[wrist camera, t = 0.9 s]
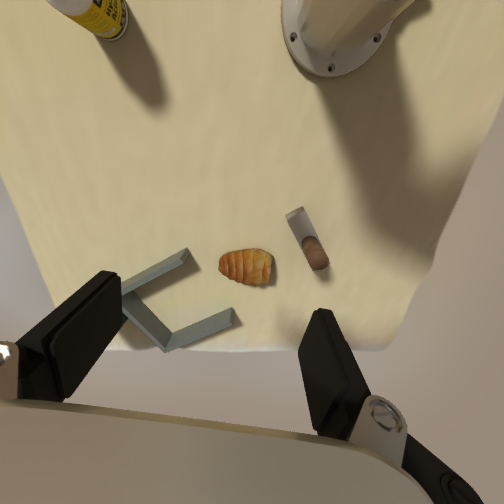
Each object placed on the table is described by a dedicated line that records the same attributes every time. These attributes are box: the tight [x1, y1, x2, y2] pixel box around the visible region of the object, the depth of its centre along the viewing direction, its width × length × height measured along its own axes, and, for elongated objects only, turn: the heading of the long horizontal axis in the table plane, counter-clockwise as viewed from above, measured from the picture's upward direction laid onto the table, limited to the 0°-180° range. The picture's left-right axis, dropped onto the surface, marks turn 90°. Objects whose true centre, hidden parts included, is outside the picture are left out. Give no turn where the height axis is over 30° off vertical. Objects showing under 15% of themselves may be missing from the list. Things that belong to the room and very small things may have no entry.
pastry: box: [218, 248, 273, 286], centre depth 40 cm, size 9×7×4 cm
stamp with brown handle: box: [285, 206, 330, 271], centre depth 35 cm, size 3×10×9 cm, turn 29°
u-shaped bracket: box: [121, 248, 234, 353], centre depth 43 cm, size 16×16×4 cm
